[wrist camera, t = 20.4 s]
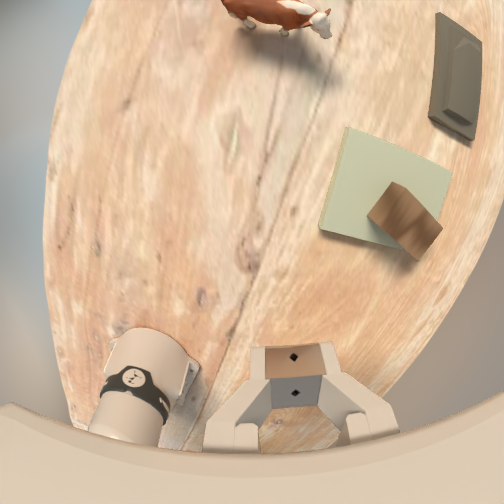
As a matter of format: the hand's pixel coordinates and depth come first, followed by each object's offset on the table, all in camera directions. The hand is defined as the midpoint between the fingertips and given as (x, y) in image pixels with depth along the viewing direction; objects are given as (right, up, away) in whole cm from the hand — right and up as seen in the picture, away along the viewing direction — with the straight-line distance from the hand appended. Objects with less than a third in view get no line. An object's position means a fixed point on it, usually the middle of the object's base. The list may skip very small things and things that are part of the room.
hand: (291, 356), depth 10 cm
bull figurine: (+2, +33, +17) cm, 38 cm away
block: (+16, +10, +23) cm, 29 cm away
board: (+18, +12, +26) cm, 34 cm away
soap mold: (+30, +32, +18) cm, 48 cm away
